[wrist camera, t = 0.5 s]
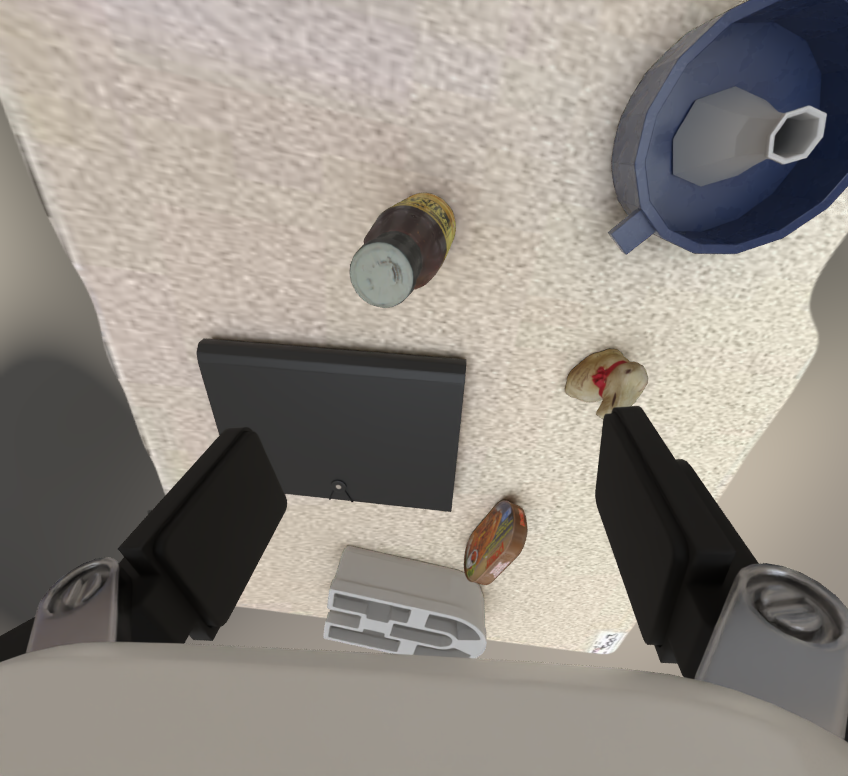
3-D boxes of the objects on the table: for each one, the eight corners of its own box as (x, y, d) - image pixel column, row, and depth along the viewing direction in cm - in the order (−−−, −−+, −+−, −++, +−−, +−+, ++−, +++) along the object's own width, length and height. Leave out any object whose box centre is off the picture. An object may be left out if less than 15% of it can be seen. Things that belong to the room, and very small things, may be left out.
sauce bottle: (465, 203, 39) (458, 245, 22) (445, 263, 42) (425, 340, 25) (402, 180, 38) (346, 205, 21) (387, 243, 42) (328, 308, 25)
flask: (657, 185, 36) (715, 196, 27) (686, 86, 32) (763, 64, 24) (741, 187, 35) (826, 199, 27) (780, 86, 31) (894, 63, 23)
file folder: (234, 491, 59) (191, 346, 47) (248, 472, 63) (211, 333, 50) (451, 514, 57) (466, 369, 44) (452, 493, 60) (466, 353, 48)
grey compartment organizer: (344, 542, 69) (329, 588, 62) (496, 576, 70) (499, 626, 63) (337, 592, 78) (323, 638, 71) (471, 622, 79) (471, 671, 71)
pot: (549, 165, 36) (563, 168, 31) (818, -98, 27) (906, -161, 21) (645, 291, 41) (671, 313, 36) (900, 109, 32) (988, 100, 26)
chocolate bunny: (633, 380, 47) (668, 431, 38) (566, 397, 49) (586, 448, 40) (627, 340, 44) (663, 385, 36) (557, 360, 46) (575, 407, 38)
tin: (508, 488, 58) (514, 536, 51) (527, 496, 59) (534, 544, 52) (462, 543, 66) (461, 590, 59) (478, 549, 66) (479, 597, 59)
